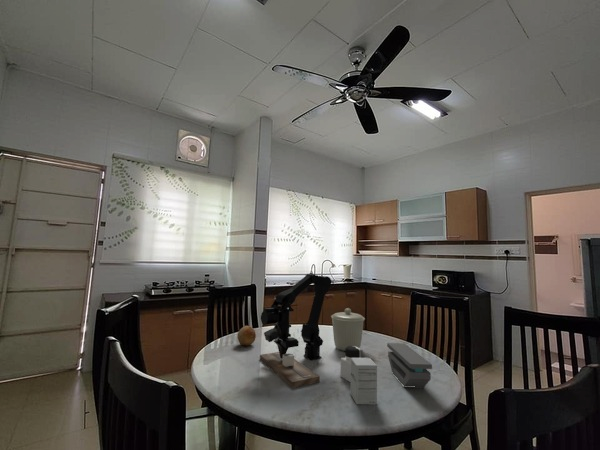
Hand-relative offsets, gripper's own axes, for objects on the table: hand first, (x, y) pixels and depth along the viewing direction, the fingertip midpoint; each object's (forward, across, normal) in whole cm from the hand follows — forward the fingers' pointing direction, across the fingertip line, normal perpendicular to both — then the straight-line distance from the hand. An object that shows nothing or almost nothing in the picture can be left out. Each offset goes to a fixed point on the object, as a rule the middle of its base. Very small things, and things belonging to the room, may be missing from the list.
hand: (281, 358), depth 125 cm
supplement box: (+3, +40, +11) cm, 41 cm away
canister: (+3, -5, +42) cm, 43 cm away
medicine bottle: (+3, +25, +19) cm, 32 cm away
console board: (+3, +5, 0) cm, 6 cm away
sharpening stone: (+3, +37, +38) cm, 53 cm away
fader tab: (+1, +6, 0) cm, 6 cm away
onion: (+3, -33, -4) cm, 33 cm away
